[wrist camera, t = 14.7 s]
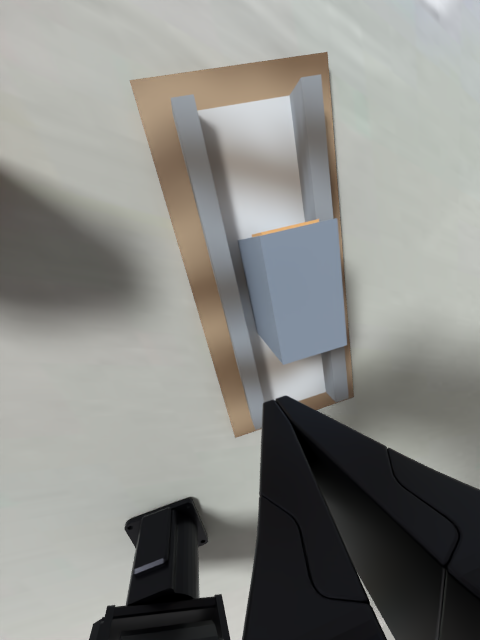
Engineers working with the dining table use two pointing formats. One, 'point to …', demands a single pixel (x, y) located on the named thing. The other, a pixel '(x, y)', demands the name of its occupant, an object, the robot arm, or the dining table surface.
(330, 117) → the rail mount
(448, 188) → the dining table surface
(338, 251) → the block
